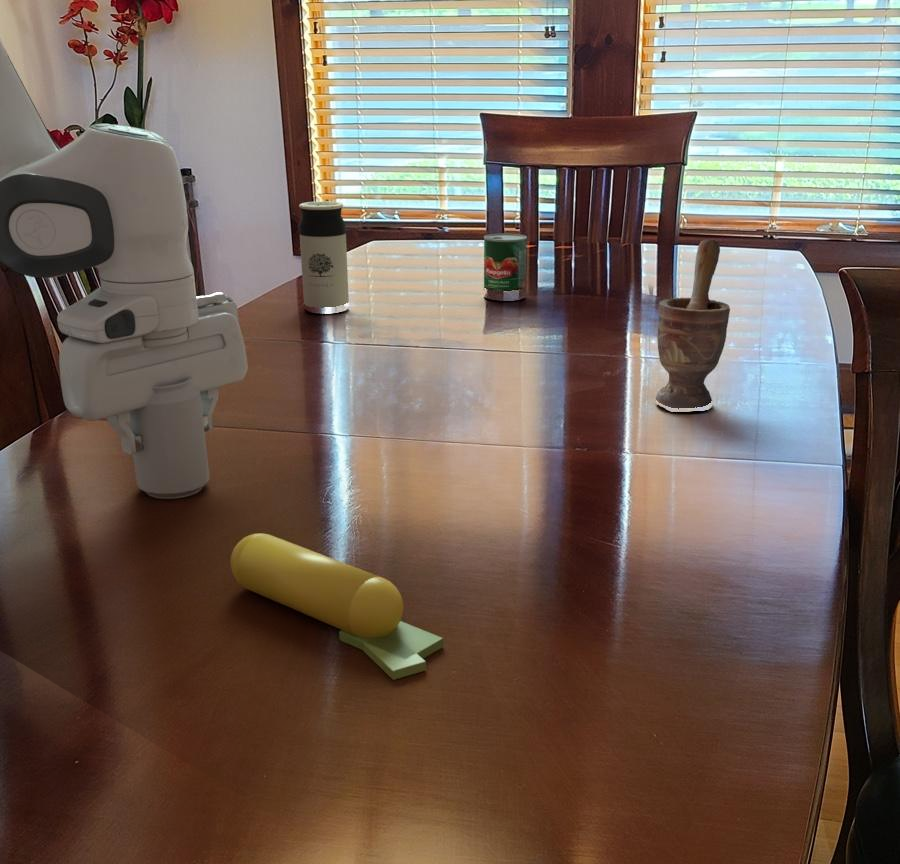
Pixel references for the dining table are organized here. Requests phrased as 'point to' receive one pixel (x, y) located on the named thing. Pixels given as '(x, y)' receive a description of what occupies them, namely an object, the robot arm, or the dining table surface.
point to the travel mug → (323, 254)
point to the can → (171, 442)
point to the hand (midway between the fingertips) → (168, 441)
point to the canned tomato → (504, 262)
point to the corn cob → (336, 600)
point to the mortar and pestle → (692, 335)
